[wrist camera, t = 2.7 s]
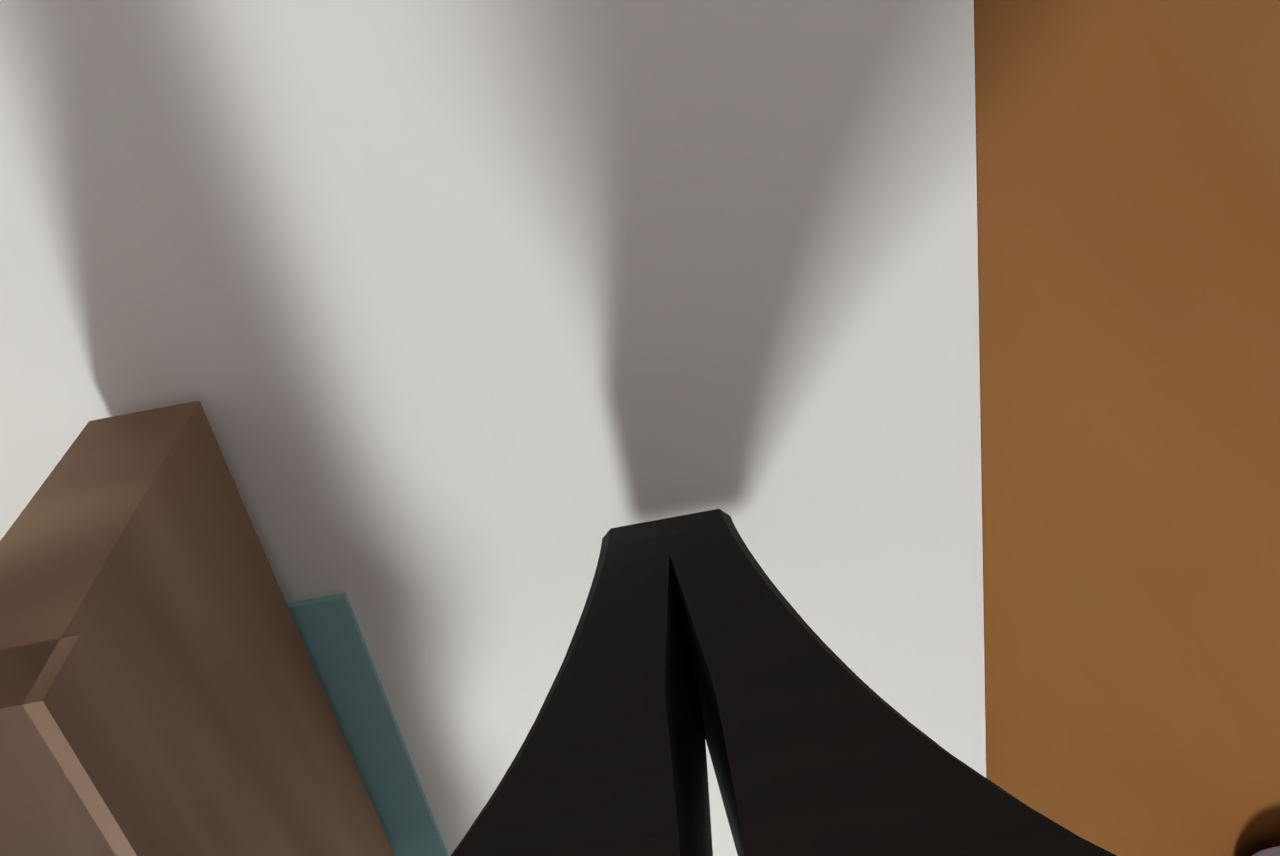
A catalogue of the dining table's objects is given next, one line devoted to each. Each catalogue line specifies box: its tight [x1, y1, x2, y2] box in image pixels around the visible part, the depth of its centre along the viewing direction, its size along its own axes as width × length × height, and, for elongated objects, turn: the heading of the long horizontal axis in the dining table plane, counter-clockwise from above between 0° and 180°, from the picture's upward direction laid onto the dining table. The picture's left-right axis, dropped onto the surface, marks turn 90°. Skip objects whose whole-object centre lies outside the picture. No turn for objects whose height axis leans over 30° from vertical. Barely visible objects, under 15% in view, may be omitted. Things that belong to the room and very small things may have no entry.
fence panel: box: [0, 400, 395, 856], centre depth 12 cm, size 2×7×4 cm, turn 10°
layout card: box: [0, 0, 986, 856], centre depth 15 cm, size 18×24×1 cm
